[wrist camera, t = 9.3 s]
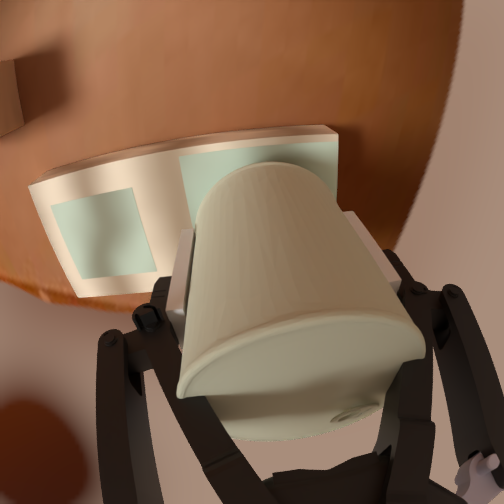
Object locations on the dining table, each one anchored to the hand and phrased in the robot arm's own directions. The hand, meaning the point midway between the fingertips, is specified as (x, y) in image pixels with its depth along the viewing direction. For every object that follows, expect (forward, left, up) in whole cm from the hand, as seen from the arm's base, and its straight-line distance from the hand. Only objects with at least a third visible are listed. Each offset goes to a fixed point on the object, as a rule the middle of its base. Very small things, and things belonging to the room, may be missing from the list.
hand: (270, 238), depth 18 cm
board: (-6, 0, -6) cm, 8 cm away
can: (0, 0, -1) cm, 1 cm away
